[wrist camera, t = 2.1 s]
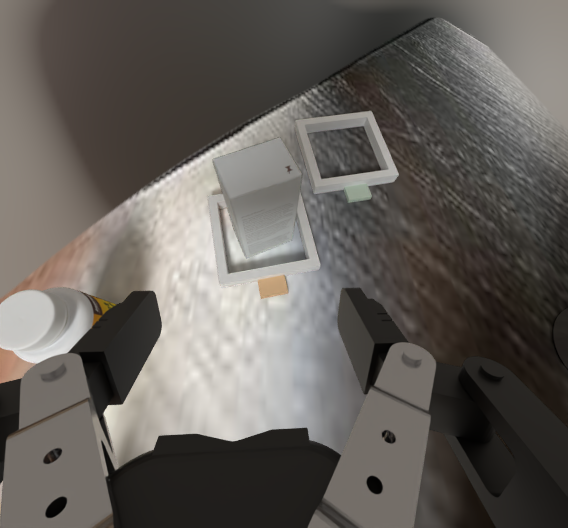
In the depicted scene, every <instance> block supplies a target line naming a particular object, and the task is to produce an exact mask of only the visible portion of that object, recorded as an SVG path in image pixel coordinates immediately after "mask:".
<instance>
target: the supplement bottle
mask: <svg viewBox="0 0 568 528" xmlns="http://www.w3.org/2000/svg"><path fill="white" fill-rule="evenodd" d="M115 305H116V304H113V303H111V302H108V301H105V300H102V299H99V298H97V297H94V296H91V295H88V294H86V293H83V292H80V291H77V290H74V289H71V288H65V287H58V288H51V289H47V290H44V291H40V290H24V291H21V292H18V293H15V294H13V295H11V296H10V297H8V298H7V299H6V300H4V301H3V302H2V303H1V304H0V347H1V348H3V349H6V350H13V351H14V353H15V354H16V355H17V356H18V357H20V358H21V359H23V360H25V361H28V362H31V363H40V362H41V361H43V360H45V359H47V358H50V357H53V356H56V355H59V354H65V353H68V352H69V351H70V350H71V348H72V347H73V346H74V345H75V344H76V343H77V342H78V341H79V340H80V339H81V338H82V337H83V336H84V335H85V334H86V332H87V331H88V330H89V329H92V326H93V325H94V324H95V323H96V322H97V321H99V319H100V317H101V316H102V315H103V314H104V313H105V312H106V311H107V310H109V309H110V308H112V307H114V306H115Z"/></svg>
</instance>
